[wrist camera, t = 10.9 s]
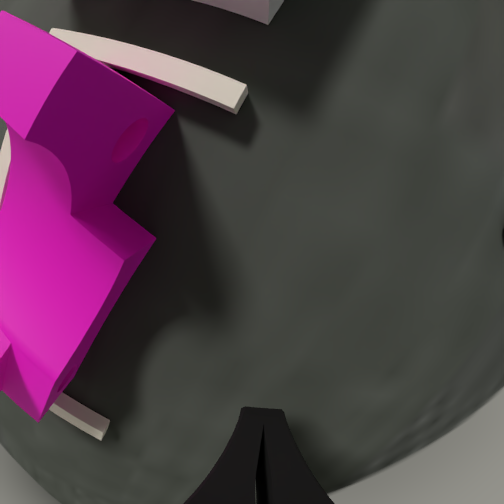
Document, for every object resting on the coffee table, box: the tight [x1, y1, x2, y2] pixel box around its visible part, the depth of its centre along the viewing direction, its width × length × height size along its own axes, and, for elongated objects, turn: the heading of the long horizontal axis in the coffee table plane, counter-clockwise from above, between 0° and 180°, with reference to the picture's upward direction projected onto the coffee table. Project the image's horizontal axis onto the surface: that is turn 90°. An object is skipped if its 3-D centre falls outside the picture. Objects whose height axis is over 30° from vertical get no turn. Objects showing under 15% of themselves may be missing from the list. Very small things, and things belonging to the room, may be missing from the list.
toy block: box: [0, 10, 175, 423], centre depth 9 cm, size 15×6×8 cm, turn 142°
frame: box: [0, 28, 248, 440], centre depth 12 cm, size 10×20×1 cm, turn 153°
